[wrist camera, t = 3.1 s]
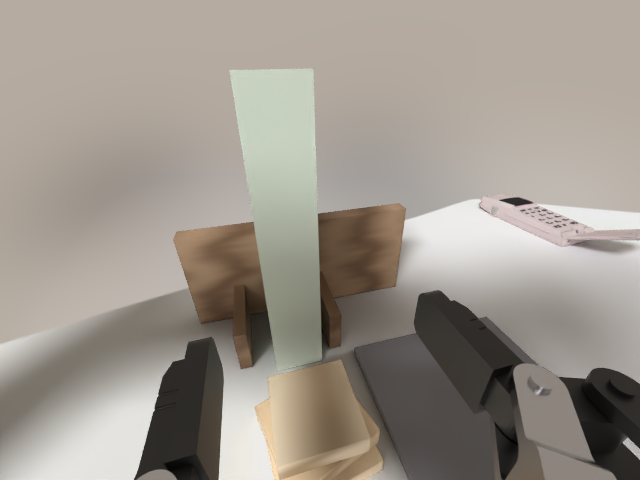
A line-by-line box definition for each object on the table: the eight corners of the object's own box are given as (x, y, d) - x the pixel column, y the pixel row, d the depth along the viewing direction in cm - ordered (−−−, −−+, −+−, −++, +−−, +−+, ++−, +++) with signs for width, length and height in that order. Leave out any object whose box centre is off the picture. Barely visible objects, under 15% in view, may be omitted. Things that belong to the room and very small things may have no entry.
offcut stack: (281, 530, 15) (272, 497, 13) (257, 416, 21) (248, 379, 19) (385, 471, 18) (392, 434, 15) (340, 382, 23) (341, 345, 21)
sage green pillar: (277, 371, 24) (229, 70, 13) (270, 320, 29) (232, 74, 18) (322, 360, 25) (313, 68, 14) (308, 313, 30) (293, 72, 19)
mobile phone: (653, 238, 30) (475, 175, 51) (624, 281, 33) (467, 205, 54) (685, 230, 32) (500, 172, 53) (655, 271, 35) (491, 201, 56)
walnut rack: (191, 380, 23) (153, 286, 18) (202, 313, 30) (176, 231, 25) (426, 326, 28) (446, 238, 23) (389, 278, 34) (398, 203, 29)
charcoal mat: (456, 589, 13) (459, 586, 13) (354, 352, 25) (354, 347, 25) (664, 493, 16) (671, 489, 16) (484, 321, 28) (486, 316, 28)
